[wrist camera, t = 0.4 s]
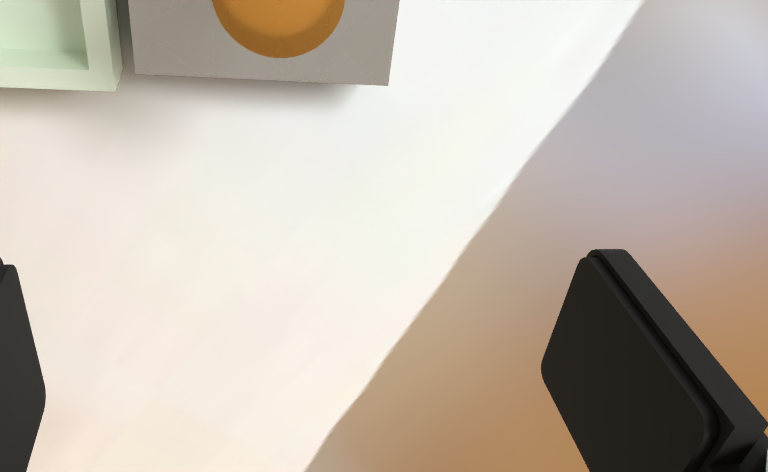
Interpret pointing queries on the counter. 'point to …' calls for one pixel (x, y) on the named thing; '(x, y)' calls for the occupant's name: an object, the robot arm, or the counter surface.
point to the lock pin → (279, 24)
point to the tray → (60, 45)
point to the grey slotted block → (231, 60)
